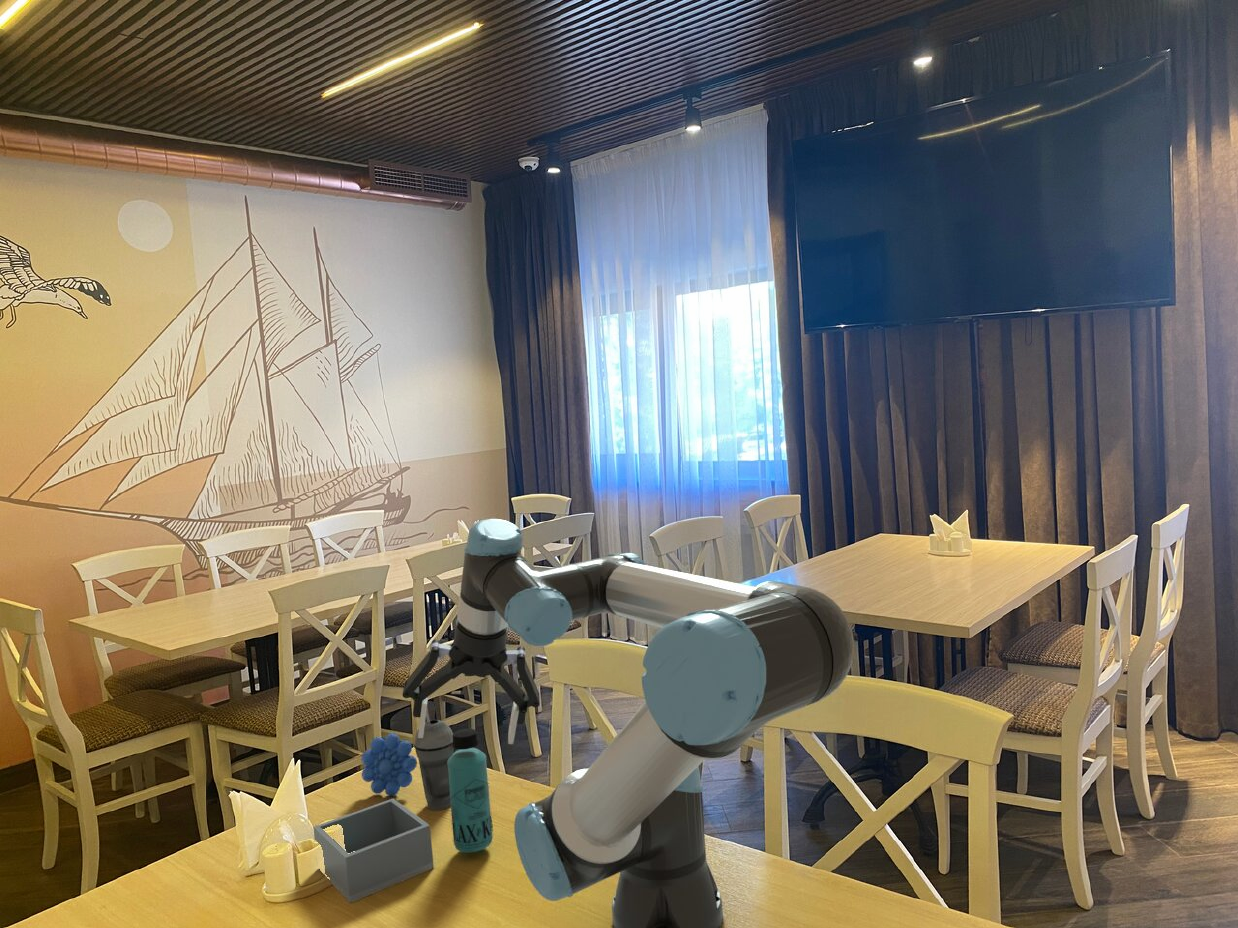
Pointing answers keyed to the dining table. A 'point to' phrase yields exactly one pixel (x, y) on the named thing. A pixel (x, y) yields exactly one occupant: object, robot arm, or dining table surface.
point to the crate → (375, 849)
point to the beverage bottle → (469, 794)
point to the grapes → (388, 764)
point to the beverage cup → (435, 762)
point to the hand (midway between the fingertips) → (466, 734)
